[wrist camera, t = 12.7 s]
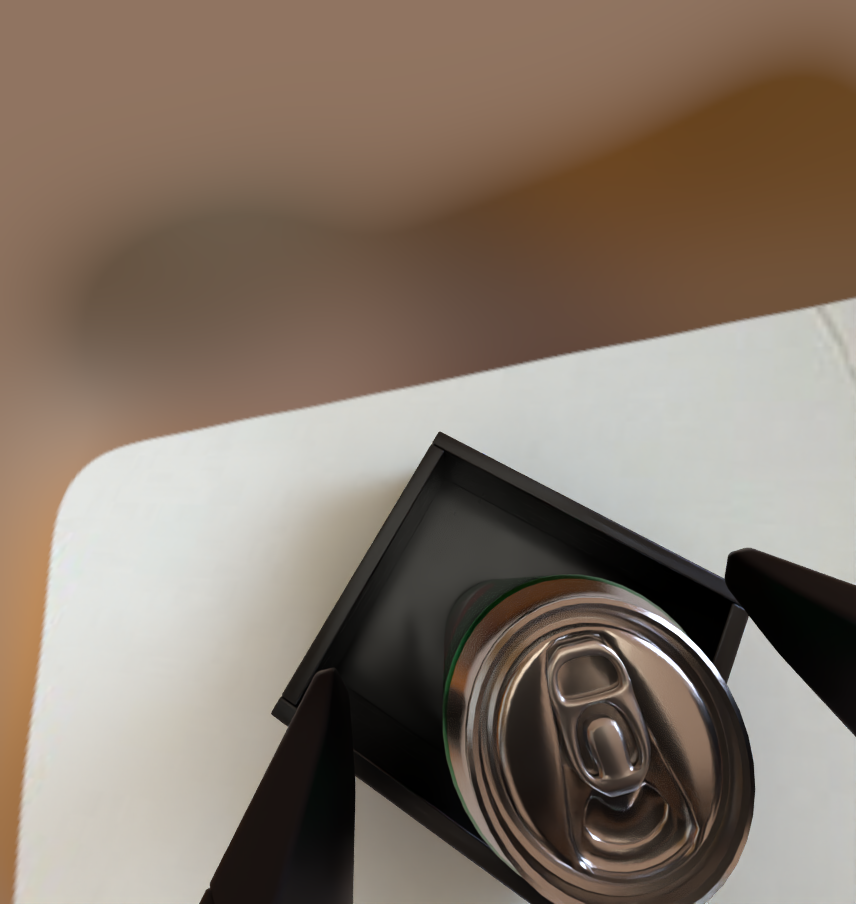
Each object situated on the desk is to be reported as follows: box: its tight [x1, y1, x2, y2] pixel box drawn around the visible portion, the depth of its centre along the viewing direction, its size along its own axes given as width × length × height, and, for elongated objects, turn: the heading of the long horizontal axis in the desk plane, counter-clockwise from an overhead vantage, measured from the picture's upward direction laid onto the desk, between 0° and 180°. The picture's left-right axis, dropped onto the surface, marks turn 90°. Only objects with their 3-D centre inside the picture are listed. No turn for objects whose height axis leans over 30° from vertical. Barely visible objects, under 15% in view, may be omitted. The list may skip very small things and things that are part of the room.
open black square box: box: [271, 432, 749, 904], centre depth 16 cm, size 11×12×5 cm
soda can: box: [443, 575, 755, 904], centre depth 12 cm, size 5×5×12 cm
